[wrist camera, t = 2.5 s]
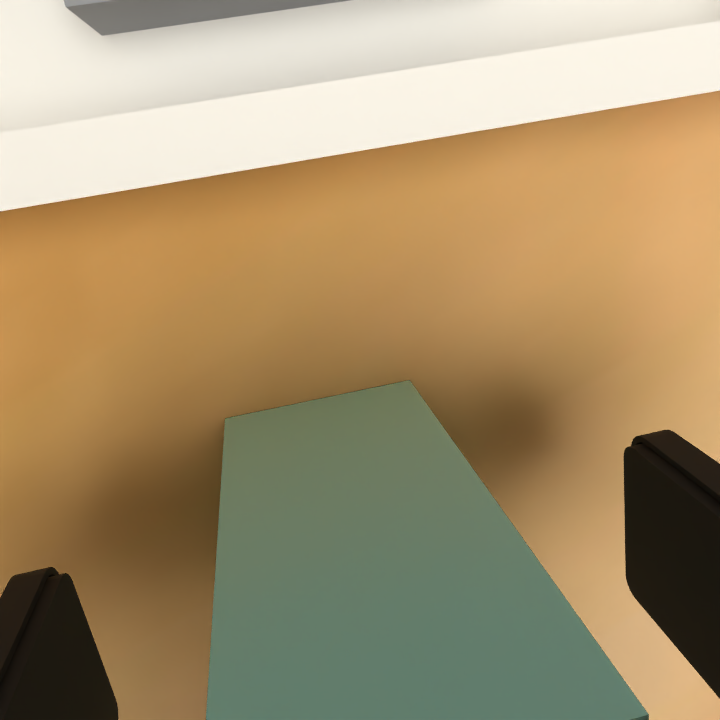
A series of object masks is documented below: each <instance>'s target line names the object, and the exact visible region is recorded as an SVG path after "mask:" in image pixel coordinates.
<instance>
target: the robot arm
mask: <svg viewBox="0 0 720 720" xmlns="http://www.w3.org/2000/svg"><path fill="white" fill-rule="evenodd" d="M624 500H625V561H626V579H627V583H628V586H629V589H630V591H631V593H632V594H633V596H634V597H635V599H636V600H637V601H638V602H639V603H640V605H641V606H642V607H643V608H644V609H645V610H646V612H647V613H648V614H649V615H650V616H651V618H652V619H653V620H654V621H655V622H656V623H657V625H658V626H659V627H660V628H661V629H662V631H663V632H664V633H665V634H666V635H667V637H668V638H669V639H670V640H671V641H672V642H673V644H674V645H675V646H676V647H677V648H678V650H679V651H680V652H681V653H682V654H683V655H684V657H685V658H686V659H687V660H688V661H689V663H690V664H691V665H692V666H693V667H694V669H695V670H696V671H697V672H698V673H699V674H700V676H701V677H702V678H703V679H704V680H705V682H706V683H707V684H708V685H709V686H710V688H711V689H712V690H713V691H714V692H715V693H716V695H717V696H718V697H719V698H720V464H719V463H718V462H716V461H715V460H713V459H712V458H711V457H709V456H708V455H706V454H705V453H703V452H702V451H700V450H699V449H698V448H696V447H695V446H693V445H692V444H690V443H689V442H688V441H686V440H685V439H683V438H682V437H680V436H679V435H677V434H676V433H675V432H673V431H671V430H662V431H658V432H653V433H649V434H645V435H640V436H636V437H635V438H634V439H633V441H632V444H631V446H630V447H627V448H626V449H625V451H624ZM0 720H118V707H117V702H116V699H115V696H114V693H113V690H112V688H111V685H110V682H109V679H108V677H107V674H106V671H105V669H104V666H103V663H102V660H101V658H100V655H99V652H98V649H97V647H96V644H95V641H94V638H93V636H92V633H91V630H90V628H89V625H88V622H87V619H86V617H85V614H84V611H83V608H82V606H81V603H80V600H79V598H78V595H77V592H76V589H75V587H74V584H73V581H72V579H71V577H70V576H69V575H68V574H66V573H65V574H60V575H59V573H58V572H57V571H56V569H55V568H52V567H49V568H45V569H40V570H36V571H31V572H27V573H22V574H18V575H15V576H13V577H12V578H11V579H10V580H9V582H8V584H7V586H6V588H5V590H4V592H3V594H2V596H1V598H0Z"/></svg>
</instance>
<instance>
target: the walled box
mask: <svg viewBox="0 0 720 720" xmlns="http://www.w3.org/2000/svg"><path fill="white" fill-rule="evenodd" d="M719 90H720V0H0V211H5V210H11V209H17V208H23V207H29V206H35V205H41V204H47V203H53V202H59V201H65V200H71V199H76V198H82V197H88V196H94V195H100V194H106V193H112V192H118V191H124V190H130V189H136V188H142V187H148V186H154V185H160V184H166V183H172V182H178V181H184V180H190V179H196V178H202V177H207V176H213V175H219V174H225V173H231V172H237V171H243V170H249V169H255V168H261V167H267V166H273V165H279V164H285V163H291V162H297V161H303V160H309V159H315V158H321V157H327V156H332V155H338V154H344V153H350V152H356V151H362V150H368V149H374V148H380V147H386V146H392V145H398V144H404V143H410V142H416V141H422V140H428V139H434V138H440V137H446V136H452V135H458V134H463V133H469V132H475V131H481V130H487V129H493V128H499V127H505V126H511V125H517V124H523V123H529V122H535V121H541V120H547V119H553V118H559V117H565V116H571V115H577V114H583V113H588V112H594V111H600V110H606V109H612V108H618V107H624V106H630V105H636V104H642V103H648V102H654V101H660V100H666V99H672V98H678V97H684V96H690V95H696V94H702V93H708V92H714V91H719Z"/></svg>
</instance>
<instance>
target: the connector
mask: <svg viewBox="0 0 720 720" xmlns="http://www.w3.org/2000/svg"><path fill="white" fill-rule="evenodd" d="M206 720H649V714H648V713H647V712H646V710H645V709H644V707H643V706H642V705H641V703H640V702H639V700H638V699H637V698H636V696H635V695H634V693H633V692H632V691H631V689H630V688H629V686H628V685H627V684H626V682H625V681H624V679H623V678H622V677H621V675H620V674H619V672H618V671H617V670H616V668H615V667H614V665H613V664H612V663H611V661H610V660H609V658H608V657H607V656H606V654H605V653H604V651H603V650H602V649H601V647H600V646H599V644H598V643H597V642H596V640H595V639H594V637H593V636H592V635H591V633H590V632H589V630H588V629H587V628H586V626H585V625H584V623H583V622H582V621H581V619H580V618H579V616H578V615H577V614H576V612H575V611H574V609H573V608H572V607H571V605H570V604H569V602H568V601H567V600H566V598H565V597H564V595H563V594H562V593H561V591H560V590H559V588H558V587H557V586H556V584H555V583H554V581H553V580H552V579H551V577H550V576H549V574H548V573H547V572H546V570H545V569H544V567H543V566H542V565H541V563H540V562H539V560H538V559H537V558H536V556H535V555H534V553H533V552H532V551H531V549H530V548H529V546H528V545H527V544H526V542H525V541H524V539H523V538H522V537H521V535H520V534H519V532H518V531H517V530H516V528H515V527H514V525H513V524H512V523H511V521H510V520H509V518H508V517H507V516H506V514H505V513H504V511H503V510H502V509H501V507H500V506H499V504H498V503H497V502H496V500H495V499H494V497H493V496H492V495H491V493H490V492H489V490H488V489H487V488H486V486H485V485H484V483H483V482H482V481H481V479H480V478H479V476H478V475H477V474H476V472H475V471H474V469H473V468H472V467H471V465H470V464H469V462H468V461H467V460H466V458H465V457H464V455H463V454H462V453H461V451H460V450H459V448H458V447H457V446H456V444H455V443H454V441H453V440H452V439H451V437H450V436H449V434H448V433H447V432H446V430H445V429H444V427H443V426H442V425H441V423H440V422H439V420H438V419H437V418H436V416H435V415H434V414H433V412H432V411H431V409H430V408H429V407H428V405H427V404H426V402H425V401H424V400H423V398H422V397H421V395H420V394H419V393H418V391H417V390H416V388H415V387H414V386H413V384H412V383H411V381H410V380H407V381H403V382H398V383H393V384H388V385H383V386H379V387H374V388H369V389H364V390H359V391H355V392H350V393H345V394H340V395H335V396H331V397H326V398H321V399H316V400H311V401H306V402H302V403H297V404H292V405H287V406H282V407H278V408H273V409H268V410H263V411H258V412H254V413H249V414H244V415H239V416H234V417H230V418H225V428H224V443H223V459H222V475H221V490H220V506H219V522H218V537H217V553H216V569H215V584H214V600H213V616H212V631H211V647H210V662H209V678H208V694H207V709H206Z"/></svg>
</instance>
